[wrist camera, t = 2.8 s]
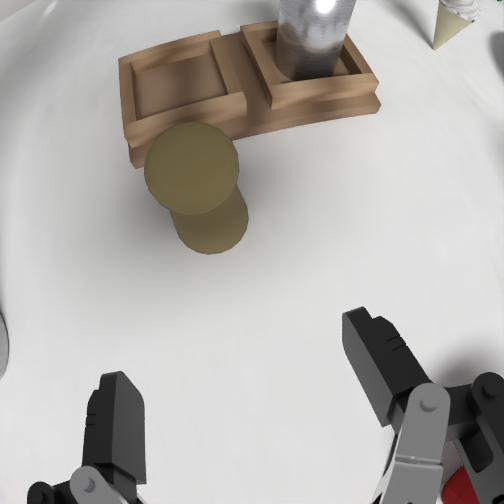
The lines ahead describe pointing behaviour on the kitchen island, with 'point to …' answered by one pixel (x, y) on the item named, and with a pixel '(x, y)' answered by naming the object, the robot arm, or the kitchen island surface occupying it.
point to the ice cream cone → (453, 19)
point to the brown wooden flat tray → (234, 87)
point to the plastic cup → (459, 489)
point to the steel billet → (311, 37)
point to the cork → (198, 185)
